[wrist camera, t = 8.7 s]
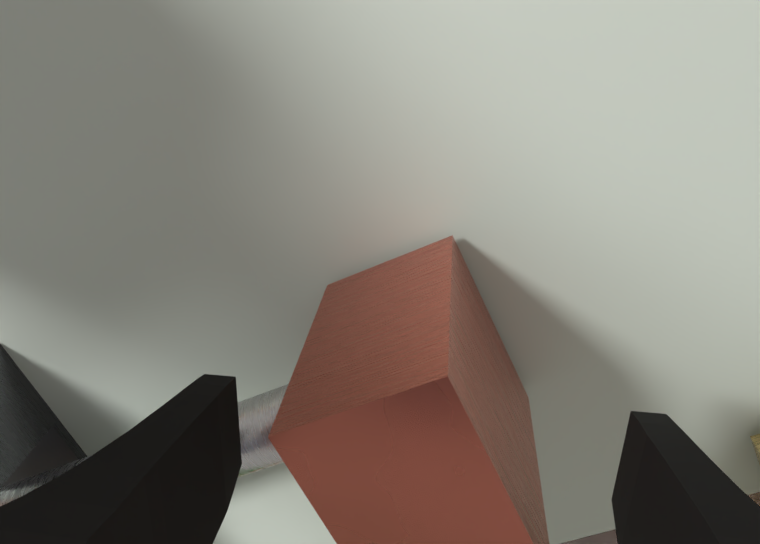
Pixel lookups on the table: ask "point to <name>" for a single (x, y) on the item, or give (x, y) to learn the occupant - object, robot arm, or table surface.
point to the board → (388, 209)
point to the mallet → (399, 414)
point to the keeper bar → (756, 445)
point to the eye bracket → (29, 429)
